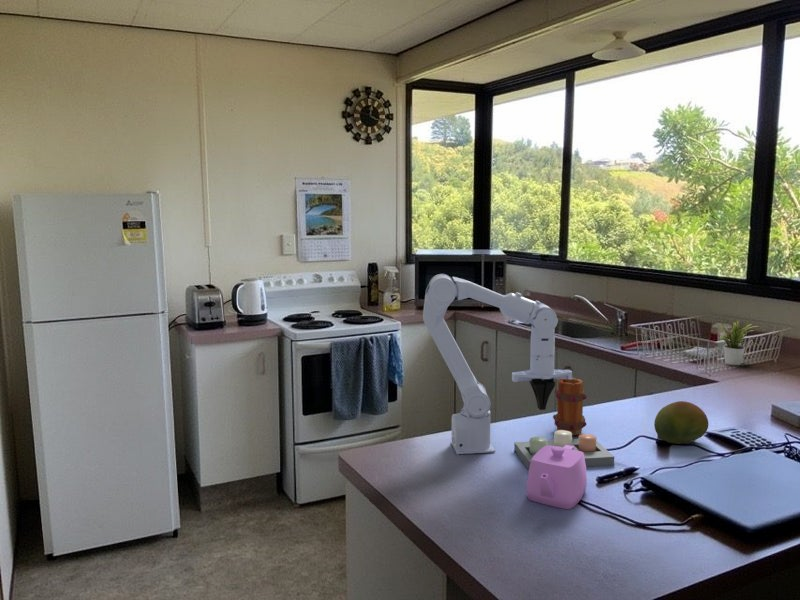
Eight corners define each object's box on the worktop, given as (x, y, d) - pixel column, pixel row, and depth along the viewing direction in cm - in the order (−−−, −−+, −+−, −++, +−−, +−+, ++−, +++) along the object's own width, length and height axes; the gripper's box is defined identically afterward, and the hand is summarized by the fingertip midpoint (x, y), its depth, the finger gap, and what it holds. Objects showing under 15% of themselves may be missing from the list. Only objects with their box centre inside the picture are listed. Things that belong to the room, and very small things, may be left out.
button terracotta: (582, 458, 150) (582, 440, 150) (575, 451, 154) (576, 434, 153) (598, 457, 151) (599, 439, 150) (591, 450, 155) (592, 433, 154)
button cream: (557, 454, 149) (557, 436, 149) (551, 447, 153) (552, 430, 153) (574, 453, 150) (574, 435, 149) (567, 446, 154) (568, 429, 153)
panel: (529, 470, 145) (529, 461, 145) (514, 450, 157) (514, 442, 156) (614, 464, 147) (614, 456, 147) (593, 445, 159) (593, 437, 158)
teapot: (567, 520, 122) (569, 469, 120) (515, 507, 127) (516, 458, 126) (593, 485, 137) (595, 439, 135) (546, 474, 143) (547, 430, 141)
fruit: (712, 440, 161) (714, 402, 159) (694, 455, 152) (697, 415, 150) (665, 430, 168) (667, 393, 167) (646, 443, 159) (647, 405, 158)
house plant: (766, 368, 227) (769, 323, 224) (727, 369, 227) (729, 324, 225) (745, 359, 241) (748, 316, 239) (708, 359, 241) (710, 317, 239)
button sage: (532, 461, 149) (532, 443, 148) (527, 454, 153) (527, 437, 152) (549, 460, 149) (549, 442, 149) (543, 453, 153) (543, 436, 153)
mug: (588, 439, 163) (589, 382, 160) (555, 438, 164) (556, 381, 161) (579, 420, 177) (581, 367, 175) (549, 419, 178) (550, 367, 176)
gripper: (517, 359, 150) (517, 415, 152) (577, 357, 152) (576, 412, 154) (509, 352, 157) (509, 406, 159) (566, 350, 159) (565, 403, 161)
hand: (541, 408), depth 157 cm, fingers closed
